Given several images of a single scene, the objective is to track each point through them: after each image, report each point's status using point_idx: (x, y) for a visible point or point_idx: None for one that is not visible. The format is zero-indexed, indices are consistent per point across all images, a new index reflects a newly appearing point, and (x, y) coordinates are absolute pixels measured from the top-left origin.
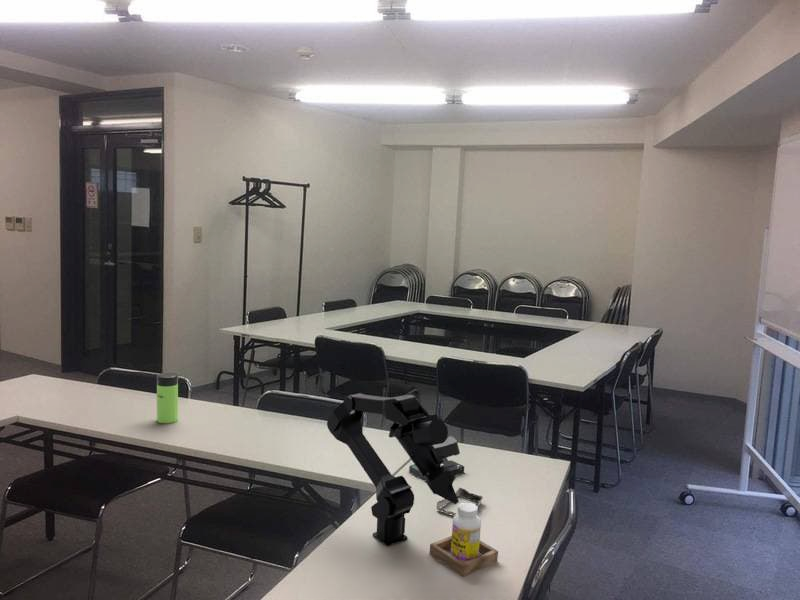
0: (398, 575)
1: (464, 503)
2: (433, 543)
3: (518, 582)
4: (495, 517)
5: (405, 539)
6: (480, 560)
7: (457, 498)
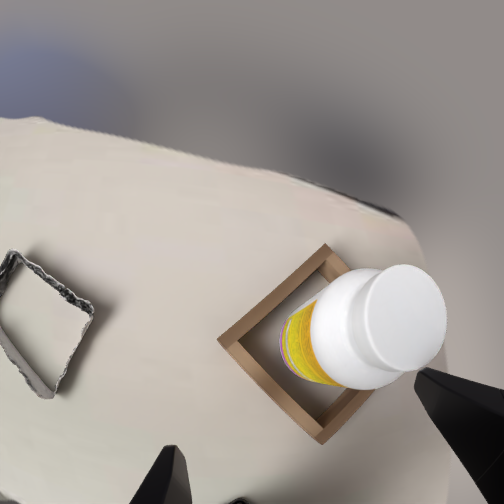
0: (404, 476)
1: (381, 336)
2: (317, 436)
3: (384, 222)
4: (84, 231)
5: (246, 502)
6: None
7: (447, 374)
